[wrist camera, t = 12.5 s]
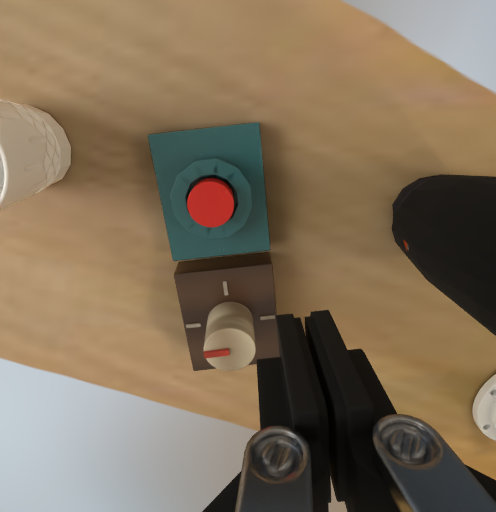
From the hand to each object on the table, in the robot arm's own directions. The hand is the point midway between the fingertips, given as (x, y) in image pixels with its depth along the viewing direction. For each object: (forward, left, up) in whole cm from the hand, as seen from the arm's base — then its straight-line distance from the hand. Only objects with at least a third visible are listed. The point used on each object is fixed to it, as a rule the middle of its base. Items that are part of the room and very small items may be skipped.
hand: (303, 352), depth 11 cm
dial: (-11, +4, -19) cm, 22 cm away
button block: (+1, +4, -22) cm, 23 cm away
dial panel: (-11, +4, -22) cm, 25 cm away
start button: (+1, +4, -19) cm, 19 cm away
